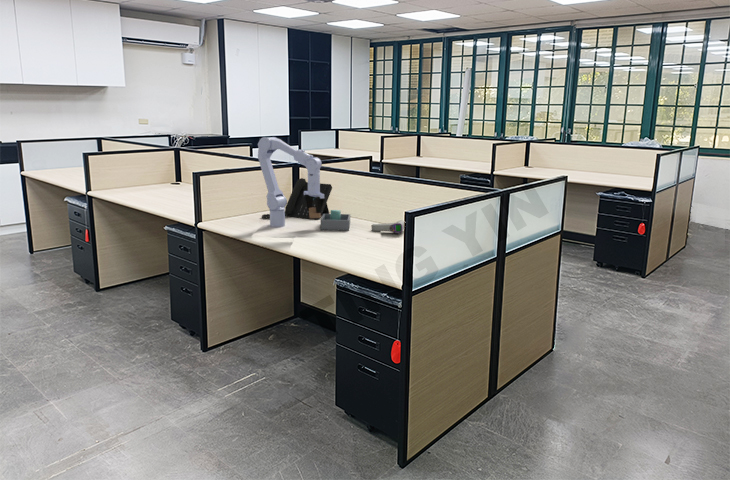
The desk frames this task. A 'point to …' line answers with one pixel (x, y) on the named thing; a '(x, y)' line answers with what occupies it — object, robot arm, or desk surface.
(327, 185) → the office phone
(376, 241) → the desk surface
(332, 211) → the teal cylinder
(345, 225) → the charcoal tote
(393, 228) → the infrared thermometer
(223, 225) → the desk surface
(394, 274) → the desk surface
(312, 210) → the walnut cube
